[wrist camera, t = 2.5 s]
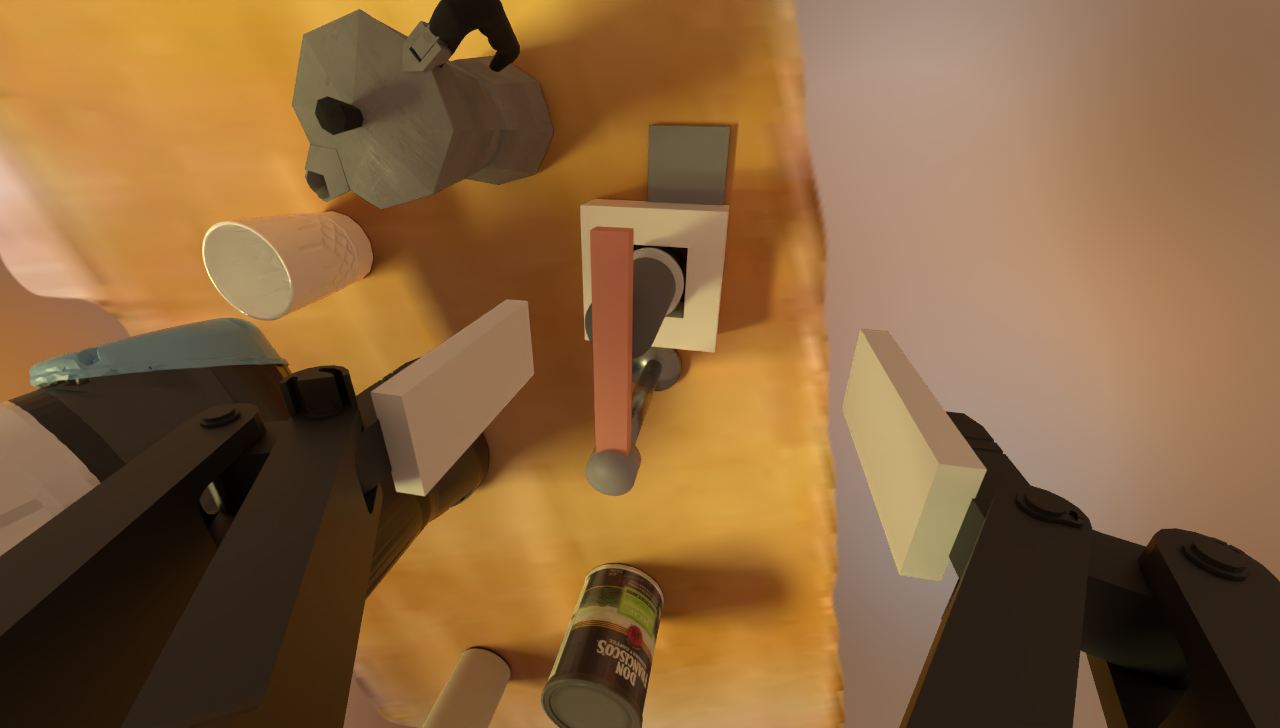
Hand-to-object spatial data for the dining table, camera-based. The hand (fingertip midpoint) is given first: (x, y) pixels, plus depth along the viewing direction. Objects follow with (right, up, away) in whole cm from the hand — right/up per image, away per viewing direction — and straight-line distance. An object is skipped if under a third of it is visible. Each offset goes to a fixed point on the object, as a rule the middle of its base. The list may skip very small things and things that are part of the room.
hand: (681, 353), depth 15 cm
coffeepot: (-12, +20, +23) cm, 32 cm away
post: (0, 0, +29) cm, 29 cm away
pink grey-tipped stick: (-3, -1, +14) cm, 14 cm away
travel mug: (-24, -45, +57) cm, 77 cm away
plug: (0, +8, +26) cm, 27 cm away
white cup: (-30, +11, +31) cm, 45 cm away
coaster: (+2, +15, +22) cm, 26 cm away
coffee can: (-3, -29, +44) cm, 53 cm away
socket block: (0, +8, +26) cm, 27 cm away
